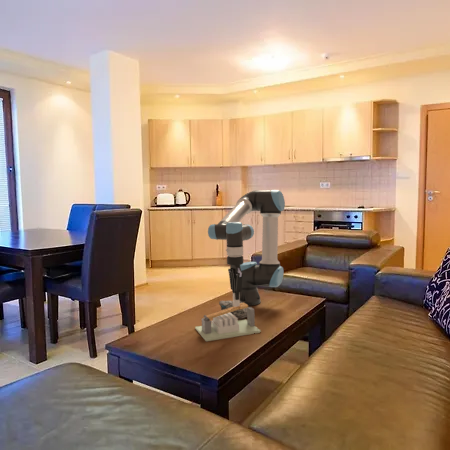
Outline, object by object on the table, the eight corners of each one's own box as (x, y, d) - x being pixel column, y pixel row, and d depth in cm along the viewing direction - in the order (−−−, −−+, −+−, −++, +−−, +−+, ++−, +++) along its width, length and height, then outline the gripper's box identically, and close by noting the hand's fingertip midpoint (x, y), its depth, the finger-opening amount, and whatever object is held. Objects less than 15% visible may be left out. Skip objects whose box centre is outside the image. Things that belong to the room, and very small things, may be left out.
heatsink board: (195, 328, 183) (194, 310, 182) (245, 321, 192) (245, 303, 191) (206, 341, 167) (205, 321, 166) (260, 332, 176) (260, 313, 175)
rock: (215, 316, 199) (217, 298, 197) (223, 311, 206) (225, 293, 204) (242, 326, 192) (244, 307, 190) (249, 320, 199) (252, 302, 197)
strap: (207, 321, 173) (206, 318, 172) (203, 317, 177) (203, 315, 177) (248, 307, 179) (247, 304, 179) (244, 304, 184) (243, 302, 184)
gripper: (222, 254, 183) (224, 303, 184) (232, 258, 170) (234, 310, 172) (237, 253, 185) (238, 301, 187) (248, 256, 173) (249, 308, 175)
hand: (236, 305), depth 180 cm, fingers closed
